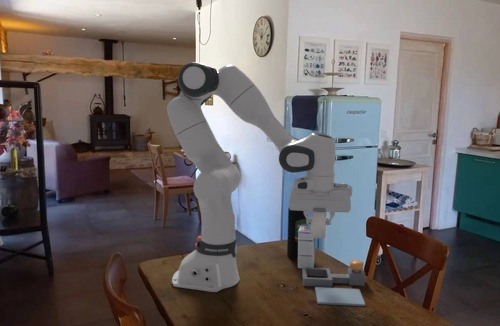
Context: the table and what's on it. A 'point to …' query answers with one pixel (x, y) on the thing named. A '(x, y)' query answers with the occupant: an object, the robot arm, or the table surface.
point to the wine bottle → (294, 231)
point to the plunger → (356, 265)
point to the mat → (339, 296)
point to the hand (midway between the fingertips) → (318, 223)
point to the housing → (331, 277)
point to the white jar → (318, 223)
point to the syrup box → (305, 247)
